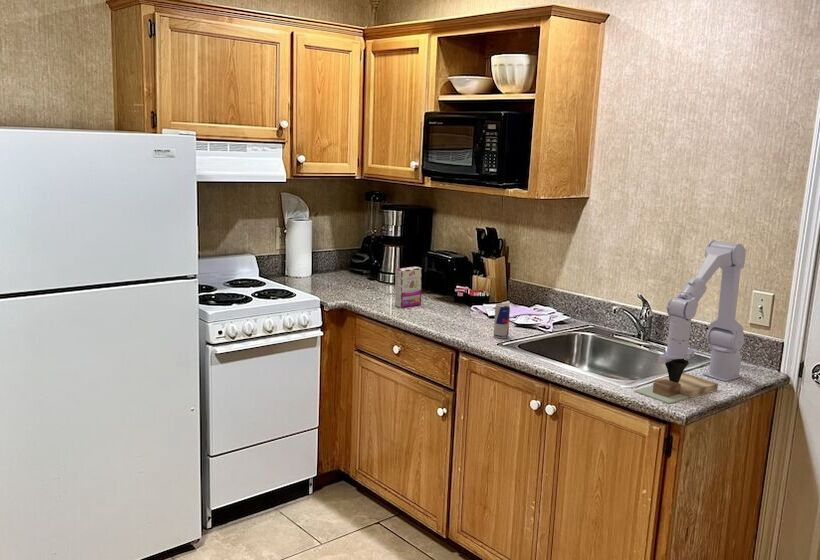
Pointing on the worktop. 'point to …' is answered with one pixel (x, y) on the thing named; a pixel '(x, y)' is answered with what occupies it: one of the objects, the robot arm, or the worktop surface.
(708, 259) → the robot arm
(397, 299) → the candy bar box
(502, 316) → the energy drink
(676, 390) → the walnut block
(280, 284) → the worktop surface
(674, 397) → the sage mat
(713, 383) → the birch board
